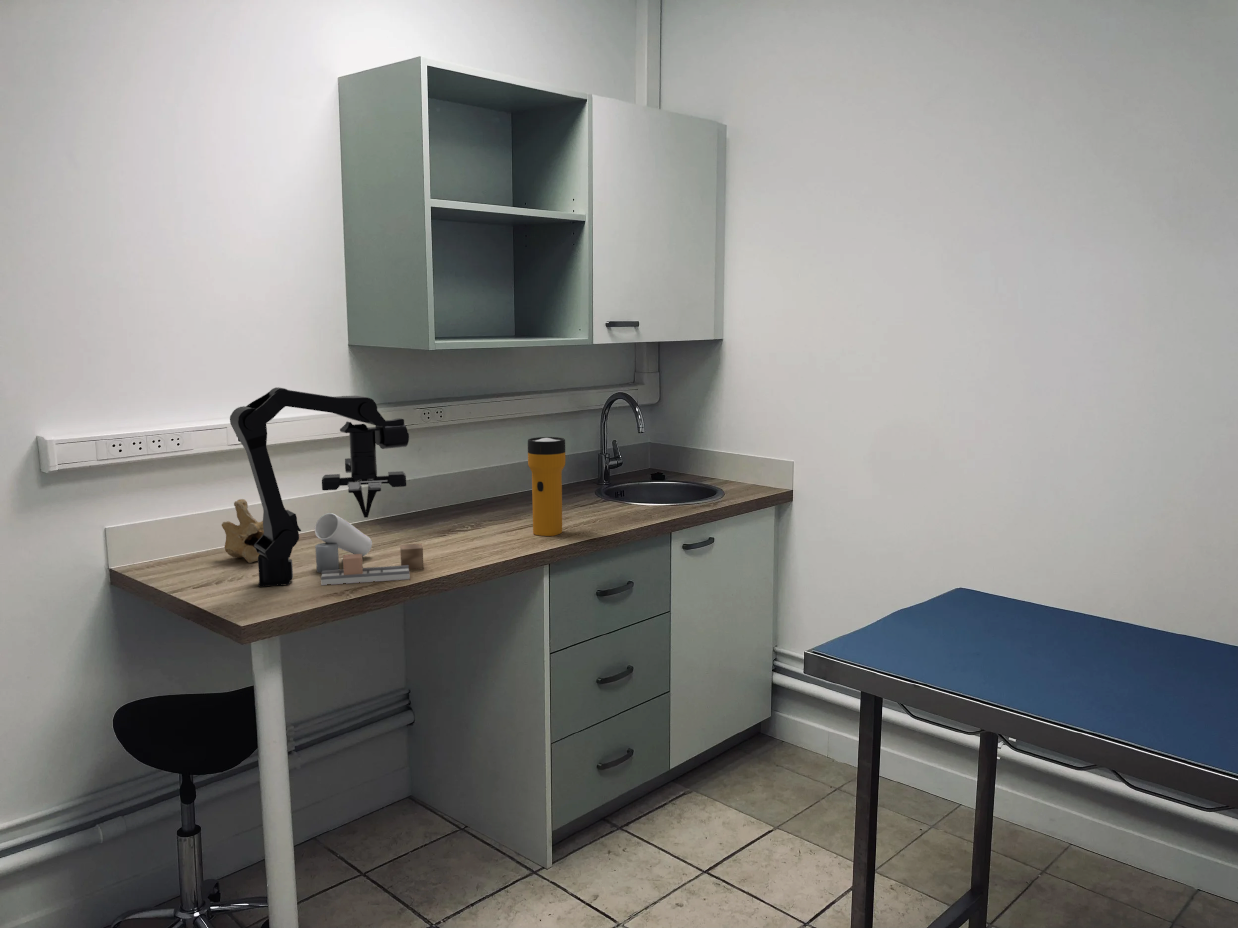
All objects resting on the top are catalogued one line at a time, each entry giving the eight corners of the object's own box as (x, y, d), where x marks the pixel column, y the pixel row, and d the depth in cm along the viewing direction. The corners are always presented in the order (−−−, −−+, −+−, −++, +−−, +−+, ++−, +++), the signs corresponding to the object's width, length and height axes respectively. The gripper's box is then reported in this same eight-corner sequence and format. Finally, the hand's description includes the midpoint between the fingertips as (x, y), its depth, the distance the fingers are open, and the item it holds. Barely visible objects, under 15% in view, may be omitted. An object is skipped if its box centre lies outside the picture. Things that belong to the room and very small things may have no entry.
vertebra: (252, 551, 243) (248, 492, 241) (280, 561, 234) (276, 500, 232) (218, 558, 237) (213, 497, 235) (245, 568, 228) (241, 505, 225)
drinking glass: (376, 554, 236) (339, 534, 223) (352, 563, 238) (314, 543, 225) (374, 530, 239) (337, 508, 226) (351, 538, 241) (313, 517, 228)
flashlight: (571, 436, 261) (553, 441, 252) (573, 531, 265) (555, 538, 256) (539, 434, 265) (520, 439, 256) (541, 527, 269) (522, 535, 260)
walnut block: (401, 570, 225) (400, 549, 225) (401, 565, 230) (400, 544, 229) (423, 569, 227) (422, 548, 226) (422, 563, 231) (421, 543, 231)
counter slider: (343, 576, 215) (343, 558, 214) (344, 572, 219) (343, 554, 218) (362, 575, 216) (361, 557, 215) (362, 570, 220) (361, 553, 219)
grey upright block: (316, 573, 223) (314, 548, 222) (317, 568, 227) (316, 543, 227) (338, 572, 224) (337, 546, 223) (339, 566, 229) (338, 541, 228)
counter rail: (321, 585, 213) (320, 577, 213) (322, 578, 219) (322, 570, 218) (409, 578, 218) (409, 571, 218) (408, 572, 223) (408, 564, 223)
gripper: (403, 444, 234) (405, 508, 236) (322, 447, 229) (325, 512, 232) (405, 451, 223) (407, 517, 225) (320, 454, 218) (323, 522, 221)
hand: (366, 517), depth 226 cm, fingers closed
